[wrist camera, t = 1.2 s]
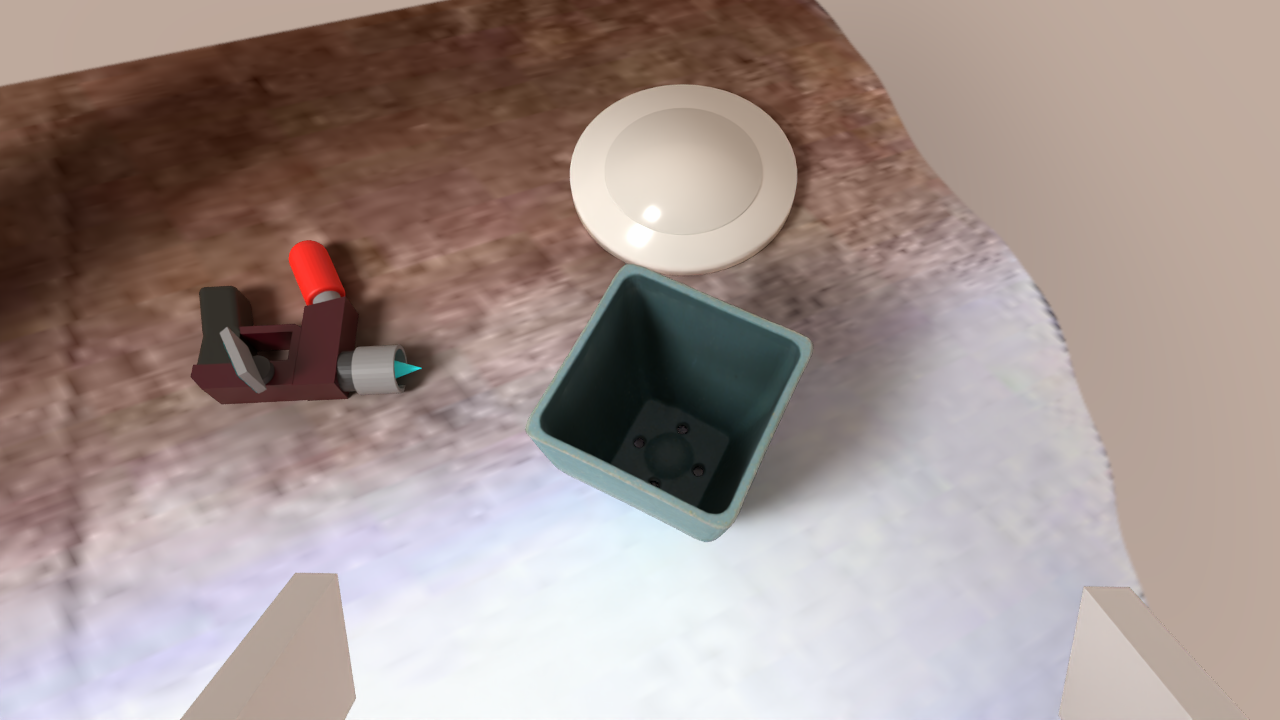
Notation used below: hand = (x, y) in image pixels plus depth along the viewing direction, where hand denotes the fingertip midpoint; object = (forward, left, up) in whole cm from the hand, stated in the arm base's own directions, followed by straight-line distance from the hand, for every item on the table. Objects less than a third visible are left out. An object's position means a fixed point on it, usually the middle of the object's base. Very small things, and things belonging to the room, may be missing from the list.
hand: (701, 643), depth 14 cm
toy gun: (-26, +6, -23) cm, 35 cm away
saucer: (-14, +24, -23) cm, 36 cm away
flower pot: (-6, +9, -23) cm, 25 cm away
